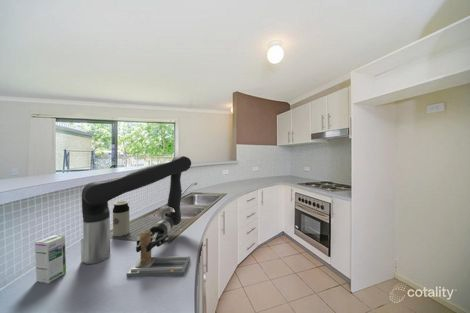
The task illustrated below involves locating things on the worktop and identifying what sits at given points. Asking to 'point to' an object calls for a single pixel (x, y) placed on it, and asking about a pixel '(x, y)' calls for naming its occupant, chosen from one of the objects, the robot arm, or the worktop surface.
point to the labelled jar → (121, 218)
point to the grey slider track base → (161, 267)
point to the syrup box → (50, 258)
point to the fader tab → (145, 256)
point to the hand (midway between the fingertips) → (142, 249)
